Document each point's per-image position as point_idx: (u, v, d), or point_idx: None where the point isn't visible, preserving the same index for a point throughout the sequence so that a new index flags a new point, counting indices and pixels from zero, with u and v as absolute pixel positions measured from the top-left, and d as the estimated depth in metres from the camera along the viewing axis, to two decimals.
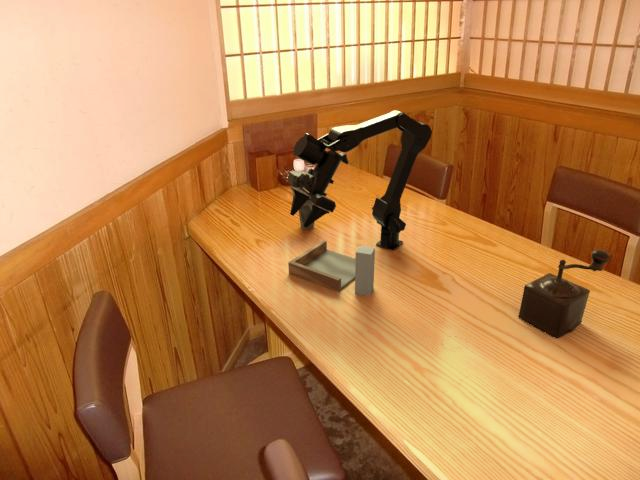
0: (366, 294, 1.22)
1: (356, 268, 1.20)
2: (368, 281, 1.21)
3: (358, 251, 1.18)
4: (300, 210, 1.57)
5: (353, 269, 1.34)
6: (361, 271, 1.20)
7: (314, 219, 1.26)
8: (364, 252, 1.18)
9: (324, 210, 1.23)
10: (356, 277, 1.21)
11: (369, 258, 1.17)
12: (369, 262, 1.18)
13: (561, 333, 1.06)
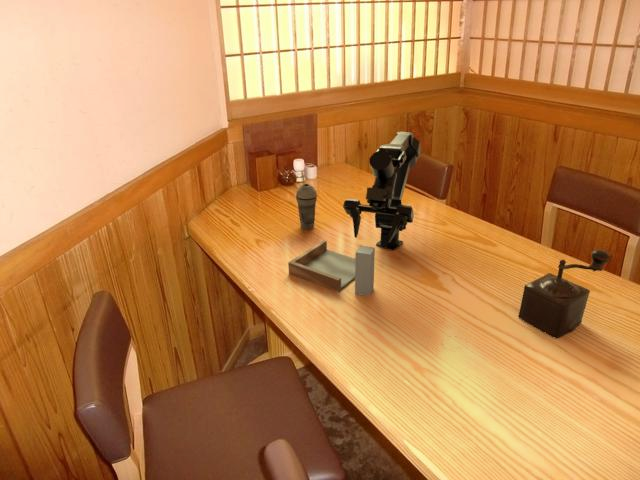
0: (366, 294, 1.22)
1: (356, 268, 1.20)
2: (368, 281, 1.21)
3: (358, 251, 1.18)
4: (300, 210, 1.57)
5: (353, 269, 1.34)
6: (361, 271, 1.20)
7: (395, 232, 1.24)
8: (364, 252, 1.18)
9: (406, 221, 1.25)
10: (356, 277, 1.21)
11: (369, 258, 1.17)
12: (369, 262, 1.18)
13: (561, 333, 1.06)
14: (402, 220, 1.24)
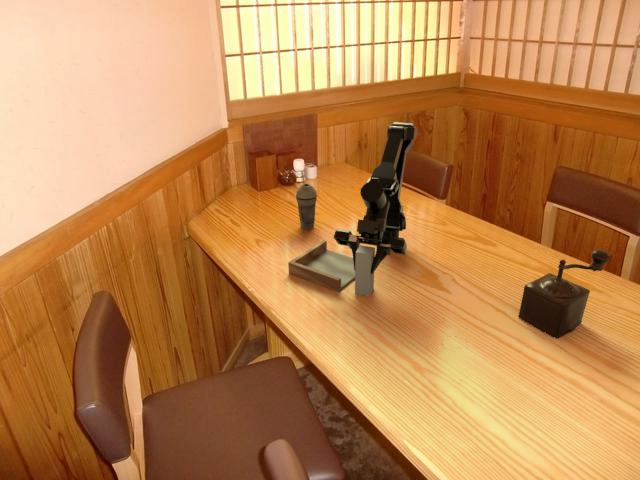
0: (366, 294, 1.22)
1: (356, 268, 1.20)
2: (368, 281, 1.20)
3: (358, 251, 1.18)
4: (300, 210, 1.57)
5: (353, 269, 1.34)
6: (361, 271, 1.20)
7: (378, 263, 1.21)
8: (364, 252, 1.18)
9: (390, 252, 1.21)
10: (356, 277, 1.21)
11: (369, 258, 1.17)
12: (369, 262, 1.18)
13: (561, 333, 1.06)
14: (385, 251, 1.21)
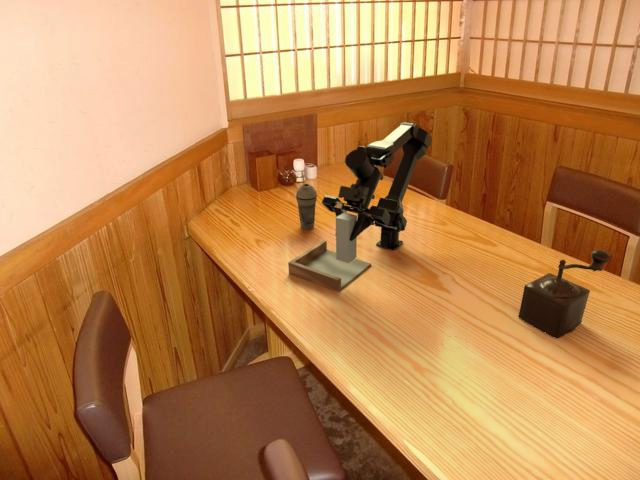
0: (346, 261, 1.25)
1: (337, 233, 1.23)
2: (347, 248, 1.23)
3: (338, 217, 1.21)
4: (300, 210, 1.57)
5: (353, 269, 1.34)
6: (341, 237, 1.22)
7: (359, 232, 1.23)
8: (344, 218, 1.20)
9: (372, 221, 1.22)
10: (337, 243, 1.24)
11: (347, 224, 1.20)
12: (347, 228, 1.20)
13: (561, 333, 1.06)
14: (367, 220, 1.22)
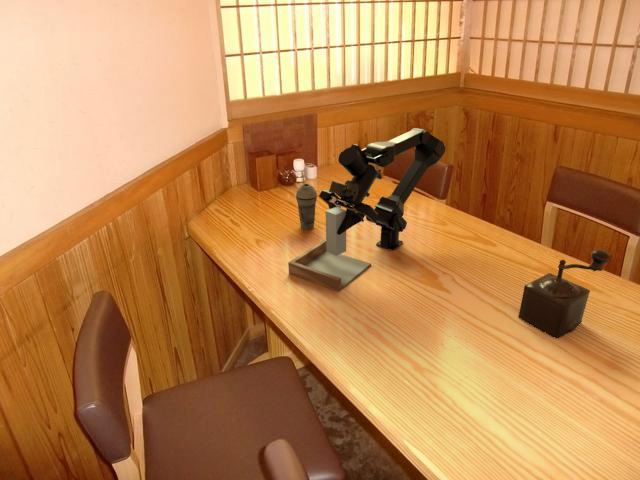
0: (334, 253, 1.30)
1: (326, 226, 1.29)
2: (334, 241, 1.28)
3: (328, 210, 1.27)
4: (300, 210, 1.57)
5: (353, 269, 1.34)
6: (330, 230, 1.28)
7: (348, 227, 1.27)
8: (332, 212, 1.26)
9: (361, 218, 1.26)
10: (326, 235, 1.30)
11: (334, 218, 1.25)
12: (334, 222, 1.25)
13: (561, 333, 1.06)
14: (355, 216, 1.26)
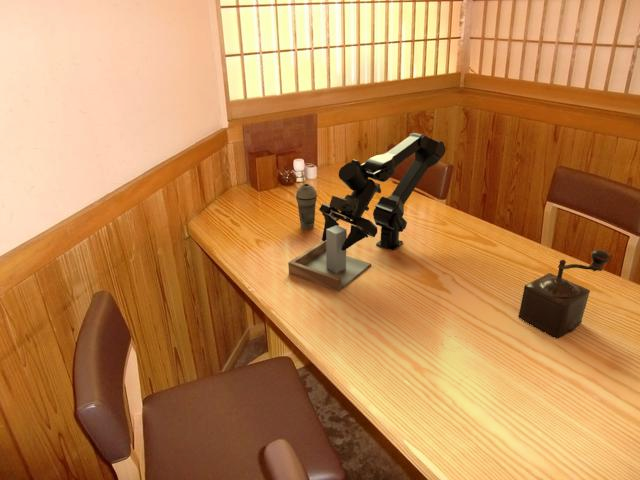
0: (334, 271, 1.33)
1: (327, 244, 1.31)
2: (335, 259, 1.30)
3: (329, 229, 1.29)
4: (300, 210, 1.57)
5: (353, 269, 1.34)
6: (330, 248, 1.30)
7: (352, 243, 1.28)
8: (333, 231, 1.28)
9: (365, 234, 1.27)
10: (327, 253, 1.32)
11: (335, 237, 1.27)
12: (335, 241, 1.28)
13: (561, 333, 1.06)
14: (360, 232, 1.26)
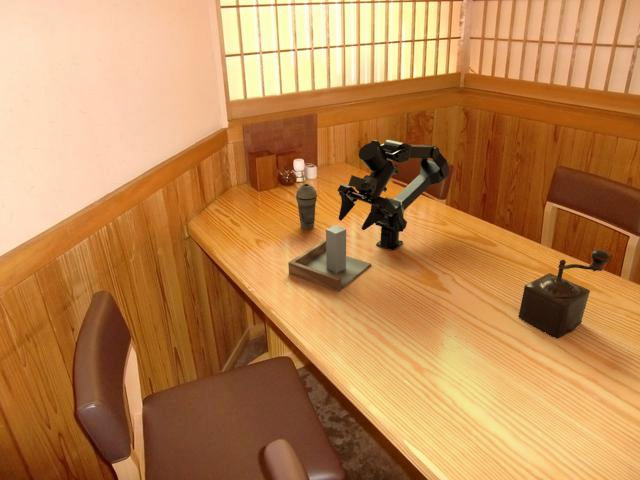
0: (334, 271, 1.33)
1: (327, 244, 1.31)
2: (335, 258, 1.30)
3: (328, 229, 1.29)
4: (300, 210, 1.57)
5: (353, 269, 1.34)
6: (330, 248, 1.31)
7: (372, 222, 1.30)
8: (332, 231, 1.28)
9: (385, 214, 1.29)
10: (327, 253, 1.32)
11: (335, 237, 1.27)
12: (335, 241, 1.28)
13: (562, 333, 1.06)
14: (380, 212, 1.28)
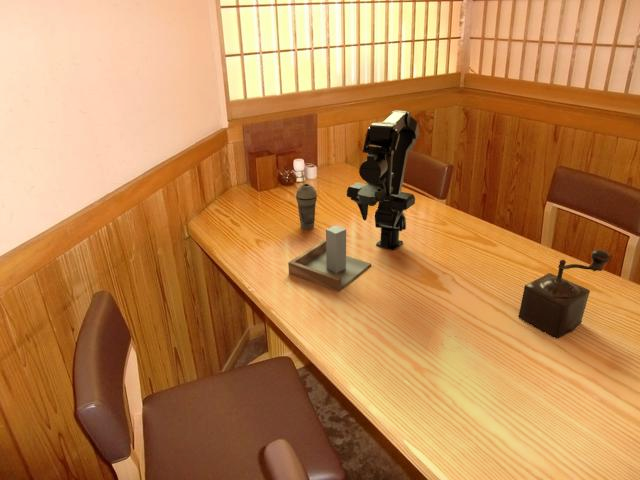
0: (334, 271, 1.33)
1: (327, 244, 1.31)
2: (335, 258, 1.30)
3: (328, 229, 1.29)
4: (300, 210, 1.57)
5: (353, 269, 1.34)
6: (330, 248, 1.31)
7: (399, 216, 1.28)
8: (332, 231, 1.28)
9: None
10: (327, 253, 1.32)
11: (335, 237, 1.27)
12: (335, 241, 1.28)
13: (562, 333, 1.06)
14: None
